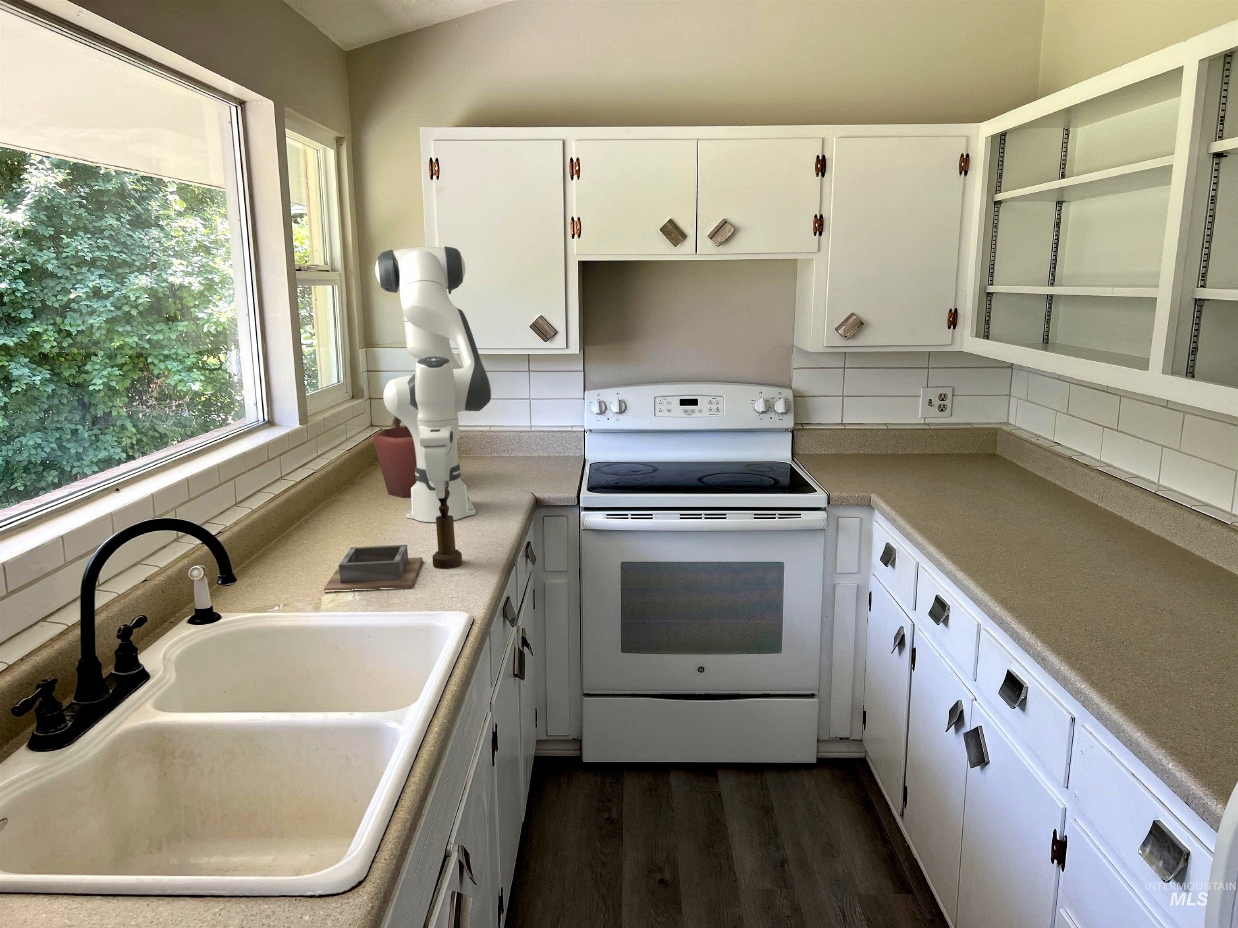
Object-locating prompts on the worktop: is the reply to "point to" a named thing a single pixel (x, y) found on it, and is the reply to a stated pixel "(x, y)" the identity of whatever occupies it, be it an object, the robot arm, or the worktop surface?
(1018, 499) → the worktop surface
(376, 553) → the holder board
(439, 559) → the wooden pepper mill
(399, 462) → the bucket
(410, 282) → the robot arm
